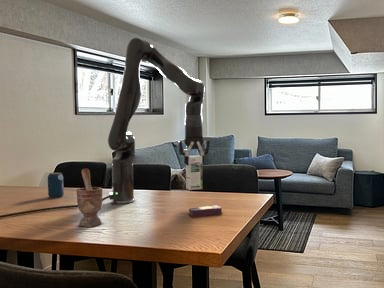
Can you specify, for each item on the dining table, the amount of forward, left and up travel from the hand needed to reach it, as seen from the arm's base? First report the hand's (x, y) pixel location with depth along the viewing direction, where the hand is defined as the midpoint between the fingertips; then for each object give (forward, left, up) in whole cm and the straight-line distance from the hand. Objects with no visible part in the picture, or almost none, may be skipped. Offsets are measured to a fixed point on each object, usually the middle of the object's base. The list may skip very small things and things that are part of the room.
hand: (194, 164), depth 167 cm
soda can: (-56, +53, -19) cm, 79 cm away
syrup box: (0, 0, -11) cm, 11 cm away
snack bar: (0, -15, -19) cm, 24 cm away
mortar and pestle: (-43, -10, -19) cm, 48 cm away
